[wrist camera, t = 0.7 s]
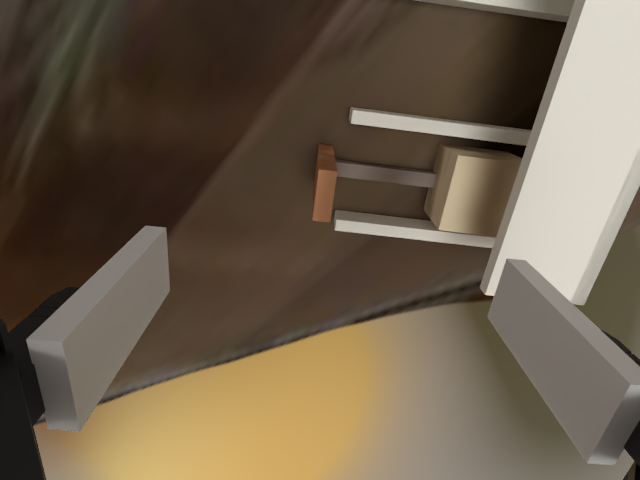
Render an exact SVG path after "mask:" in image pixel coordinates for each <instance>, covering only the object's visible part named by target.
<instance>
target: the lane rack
mask: <svg viewBox="0 0 640 480" xmlns="http://www.w3.org/2000/svg"><path fill="white" fill-rule="evenodd" d="M414 1H421V2H428V3H435V4H442V5H449V6H456V7H463V8H470V9H476V10H483V11H490V12H497V13H504V14H511V15H518V16H525V17H532V18H539V19H546V20H553V21H560V22H566V23H567V25H566V28H565V32H564V35H563V38H562V41H561V44H560V47H559V50H558V53H557V56H556V59H555V62H554V65H553V68H552V71H551V74H550V77H549V80H548V83H547V86H546V89H545V92H544V95H543V98H542V101H541V104H540V107H539V110H538V113H537V116H536V119H535V122H534V125H533V128H532V130H526V129H518V128H511V127H503V126H495V125H487V124H480V123H472V122H464V121H456V120H449V119H441V118H433V117H425V116H418V115H410V114H402V113H395V112H387V111H379V110H371V109H364V108H356V107H350V113H349V121H350V123H351V124H359V125H367V126H375V127H383V128H390V129H398V130H406V131H414V132H422V133H430V134H438V135H446V136H453V137H461V138H469V139H477V140H485V141H493V142H501V143H509V144H516V145H524V146H526V149H525V152H524V155H523V158H522V161H521V164H520V167H519V170H518V173H517V176H516V179H515V182H514V185H513V188H512V191H511V194H510V197H509V200H508V203H507V206H506V209H505V212H504V215H503V218H502V221H501V224H500V227H499V230H498V233H497V236H496V237H494V236H485V235H477V234H468V233H459V232H451V231H442V230H438V229H437V227H436V226H435V225H434V223H433V222H432V221H428V220H419V219H411V218H402V217H394V216H385V215H376V214H368V213H359V212H350V211H342V210H335V216H334V227H335V230H336V231H345V232H354V233H363V234H372V235H380V236H389V237H398V238H407V239H416V240H425V241H434V242H443V243H451V244H460V245H469V246H478V247H487V248H492V251H491V254H490V258H489V261H488V264H487V267H486V270H485V273H484V276H483V279H482V282H481V285H480V288H481V290H482V291H483V293H484V294H485V295H492V296H494V295H495V292H496V289H497V286H498V283H499V280H500V277H501V274H502V271H503V268H504V265H505V262H506V259H518V260H526V261H527V262H528V263H529V264H530V265H531V266H532V267H533V268H535V269H536V270H537V271H538V272H539V273H540V274H541V275H542V276H543V277H544V278H545V279H546V280H547V281H548V282H550V283H551V284H552V285H553V286H554V287H555V288H556V289H557V290H558V291H559V292H560V293H561V294H562V295H563V296H565V297H566V298H567V299H568V300H569V301H570V302H571V303H572V304H577V305H584V304H585V302H586V299H587V297H588V295H589V293H590V291H591V289H592V287H593V284H594V282H595V280H596V278H597V276H598V274H599V271H600V269H601V267H602V265H603V263H604V261H605V259H606V257H607V254H608V252H609V250H610V248H611V246H612V244H613V241H614V239H615V237H616V235H617V233H618V231H619V229H620V226H621V224H622V222H623V220H624V218H625V216H626V214H627V211H628V209H629V207H630V205H631V203H632V201H633V199H634V196H635V194H636V192H637V190H638V188H639V186H640V0H414Z"/></svg>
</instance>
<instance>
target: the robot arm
mask: <svg viewBox="0 0 640 480" xmlns="http://www.w3.org/2000/svg"><path fill="white" fill-rule="evenodd" d="M169 291H170V283H169V266H168V249H167V232H166V228H165V227H154V226H145V227H143V228H142V229H141V230H140V231H139V232H138V233H137V234H136V235H135V236H134V237H133V238H132V239H131V240H130V241H129V242H128V243H127V244H126V245H125V246H124V247H123V248H121V249H120V250H119V251H118V252H117V253H116V254H115V255H114V256H113V257H112V258H111V259H110V260H109V261H108V262H107V263H106V264H105V265H104V266H103V267H102V268H100V269H99V270H98V271H97V272H96V273H95V274H94V275H93V276H92V277H91V278H90V279H89V280H88V281H87V282H86V283H85V284H84V285H83V286H82V287H81V288H74V287H68V288H66V289H64V290H61V291H59V292H57V293H55V294H53V295H51V296H50V297H49V298H48V299H47V300H45V301H44V302H43V303H42V304H41V305H40V306H39V308H38V309H37V308H36V309H35V310H34V311H33V312H32V313H31V314H29V317H28V318H27V317H26V318H25V319H24V320H23V321H22V322H20V323H19V324H18V325H17V326H16V327H15V328H14V329H12V330H11V331H10V332H9V333H8V331H7V327H6V324H5V323H4V322H3V320H2V319H0V480H46V477H45V473H44V469H43V465H42V461H41V457H40V453H39V449H38V444H37V440H36V436H35V432H34V429H33V426H34V424H35V423H36V422H37V421H38V419H39V418H40V417H41V415H42V414H43V413H44V414H45V418H46V422H47V426H48V429H52V430H67V431H81V429H82V427H83V426H84V424H85V423H86V421H87V420H88V418H89V416H90V415H91V413H92V412H93V410H94V409H95V407H96V406H97V404H98V402H99V401H100V399H101V398H102V396H103V395H104V393H105V391H106V390H107V388H108V387H109V385H110V384H111V382H112V381H113V379H114V377H115V376H116V374H117V373H118V371H119V370H120V368H121V366H122V365H123V363H124V362H125V360H126V359H127V357H128V356H129V354H130V352H131V351H132V349H133V348H134V346H135V345H136V343H137V341H138V340H139V338H140V337H141V335H142V334H143V332H144V331H145V329H146V327H147V326H148V324H149V323H150V321H151V320H152V318H153V316H154V315H155V313H156V312H157V310H158V309H159V307H160V306H161V304H162V302H163V301H164V299H165V298H166V296H167V295H168V293H169ZM487 317H488V319H489V320H490V322H491V323H492V325H493V326H494V328H495V329H496V331H497V332H498V333H499V335H500V336H501V338H502V339H503V341H504V342H505V344H506V345H507V347H508V348H509V350H510V351H511V353H512V354H513V356H514V357H515V358H516V360H517V361H518V363H519V364H520V366H521V367H522V369H523V370H524V372H525V373H526V375H527V376H528V378H529V379H530V380H531V382H532V383H533V385H534V386H535V388H536V389H537V391H538V392H539V394H540V395H541V397H542V398H543V400H544V401H545V403H546V404H547V406H548V407H549V408H550V410H551V411H552V413H553V414H554V416H555V417H556V419H557V420H558V422H559V423H560V425H561V426H562V428H563V429H564V430H565V432H566V433H567V435H568V436H569V438H570V439H571V440H572V442H573V444H574V445H575V447H576V448H577V450H578V451H579V452H580V454H581V455H582V457H583V458H584V460H585V461H586V463H591V464H606V465H615V463H616V461H617V460H618V458H619V456H620V455H621V453H622V451H623V449H624V448H625V450H626V451H627V452H628V453H629V455H630V456H631V457H632V458H633V459H634V463H633V464H632V466H631V468H630V469H629V471H628V472H627V474H626V476H625V477H624V479H623V480H640V359H638V358H637V357H636V356H635V355H634V354H631V351H630V350H628V349H627V348H626V347H625V346H624V345H623V344H622V343H621V342H620V341H618V340H617V339H616V338H614V337H612V336H611V335H609V334H607V333H606V332H604V331H603V330H600V329H599V328H598V327H597V326H596V325H595V324H593V323H592V322H591V321H590V320H589V319H588V318H587V317H586V316H585V315H584V314H583V313H582V312H581V311H580V310H578V309H577V308H576V307H575V306H574V305H573V304H572V303H571V302H570V301H569V300H568V299H567V298H566V297H565V296H563V295H562V294H561V293H560V292H559V291H558V290H557V289H556V288H555V287H554V286H553V285H552V284H551V283H550V282H548V281H547V280H546V279H545V278H544V277H543V276H542V275H541V274H540V273H539V272H538V271H537V270H536V269H535V268H533V267H532V266H531V265H530V264H529V263H528V262H527V261H526V260H518V259H506V262H505V265H504V268H503V271H502V274H501V277H500V280H499V283H498V286H497V289H496V292H495V295H494V298H493V301H492V304H491V307H490V310H489V313H488V316H487Z"/></svg>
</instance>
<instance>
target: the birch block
mask: <svg viewBox="0 0 640 480" xmlns="http://www.w3.org/2000/svg"><path fill="white" fill-rule="evenodd" d="M521 161H522V158H520V157H518V156H516V155H514V154H511V153H509V152H505V151H498V150H490V149H482V148H474V147H466V146H458V145H450V144H442V143H439V147H438V151H437V155H436V159H435V163H434V168H433V171H426V170H418V169H410V168H402V167H393V166H385V165H377V164H369V163H361V162H353V161H345V160H336V159H335V155H334V149H333V145H326V144H319V146H318V154H317V163H316V171H315V179H314V194H313V218H312V220H313V221H322V222H330V220H331V213H332V206H333V199H334V192H335V185H336V178H337V176H338V177H347V178H355V179H363V180H371V181H380V182H388V183H396V184H405V185H413V186H421V187H429V188H428V192H427V196H426V200H425V205H424V211H425V212H426V214H427V215H428V216H429V218H430V219H431V220H432V222H433V223H434V225H435V226H436V227H437V229H438V230H442V231H451V232H459V233H468V234H477V235H485V236H494V237H496V236H497V233H498V230H499V227H500V224H501V221H502V218H503V215H504V212H505V209H506V206H507V203H508V200H509V197H510V194H511V191H512V188H513V185H514V182H515V179H516V176H517V173H518V170H519V167H520V164H521Z"/></svg>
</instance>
